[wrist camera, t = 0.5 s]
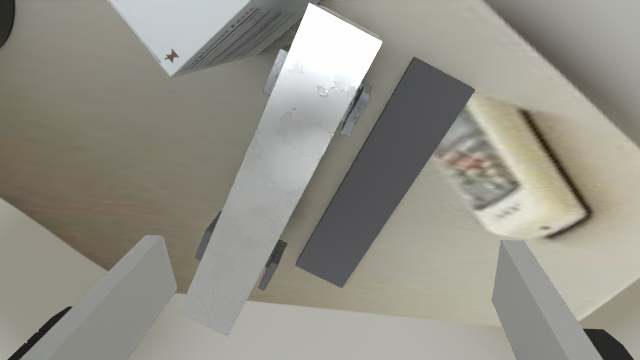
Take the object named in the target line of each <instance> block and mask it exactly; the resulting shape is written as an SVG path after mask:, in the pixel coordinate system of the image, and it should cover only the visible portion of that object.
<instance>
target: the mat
mask: <svg viewBox="0 0 640 360" xmlns="http://www.w3.org/2000/svg"><path fill="white" fill-rule="evenodd" d="M474 91H475V89H473V88H471V87H469V86H468V85H466V84H464V83H462V82H460V81H458V80H456V79H455V78H453V77H451V76H449V75H447V74H445V73H443V72H442V71H440V70H438V69H436V68H434V67H432V66H430V65H428V64H427V63H425V62H423V61H421V60H419V59H417V58H415V57H414V58H413V60H412V61H411V63H410V65H409V67H408V68H407V70H406V72H405V74H404V75H403V77H402V79H401V81H400V82H399V84H398V86H397V87H396V89H395V91H394V93H393V94H392V96H391V98H390V100H389V101H388V103H387V105H386V107H385V108H384V110H383V112H382V114H381V115H380V117H379V119H378V121H377V122H376V124H375V126H374V128H373V129H372V131H371V133H370V135H369V136H368V138H367V140H366V142H365V143H364V145H363V147H362V149H361V150H360V152H359V154H358V156H357V157H356V159H355V161H354V163H353V164H352V166H351V168H350V170H349V171H348V173H347V175H346V177H345V178H344V180H343V182H342V184H341V185H340V187H339V189H338V190H337V192H336V194H335V196H334V197H333V199H332V201H331V203H330V204H329V206H328V208H327V210H326V211H325V213H324V215H323V217H322V218H321V220H320V222H319V224H318V225H317V227H316V229H315V231H314V232H313V234H312V236H311V238H310V239H309V241H308V243H307V245H306V246H305V248H304V250H303V252H302V253H301V255H300V257H299V259H298V260H297V262H296V266H298V267H300V268H302V269H304V270H306V271H308V272H310V273H312V274H314V275H316V276H318V277H320V278H322V279H324V280H326V281H328V282H331V283H333V284H335V285H337V286H339V287H341V288H342V287H343V286H344V284H345V283H346V281H347V280H348V278H349V277H350V275H351V274H352V273H353V271H354V270H355V268H356V267H357V265H358V264H359V262H360V261H361V259H362V258H363V256H364V255H365V253H366V252H367V250H368V249H369V247H370V246H371V244H372V243H373V241H374V240H375V238H376V237H377V235H378V234H379V232H380V231H381V229H382V228H383V226H384V225H385V223H386V222H387V220H388V219H389V217H390V216H391V215H392V213H393V212H394V210H395V209H396V207H397V206H398V204H399V203H400V201H401V200H402V198H403V197H404V195H405V194H406V192H407V191H408V189H409V188H410V186H411V185H412V183H413V182H414V180H415V179H416V177H417V176H418V174H419V173H420V171H421V170H422V168H423V167H424V165H425V164H426V162H427V161H428V159H429V158H430V157H431V155H432V154H433V152H434V151H435V149H436V148H437V146H438V145H439V143H440V142H441V140H442V139H443V137H444V136H445V134H446V133H447V131H448V130H449V128H450V127H451V125H452V124H453V122H454V121H455V119H456V118H457V116H458V115H459V113H460V112H461V110H462V109H463V107H464V106H465V104H466V103H467V101H468V100H469V99H470V97H471V96H472V94H473V93H474Z"/></svg>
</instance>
